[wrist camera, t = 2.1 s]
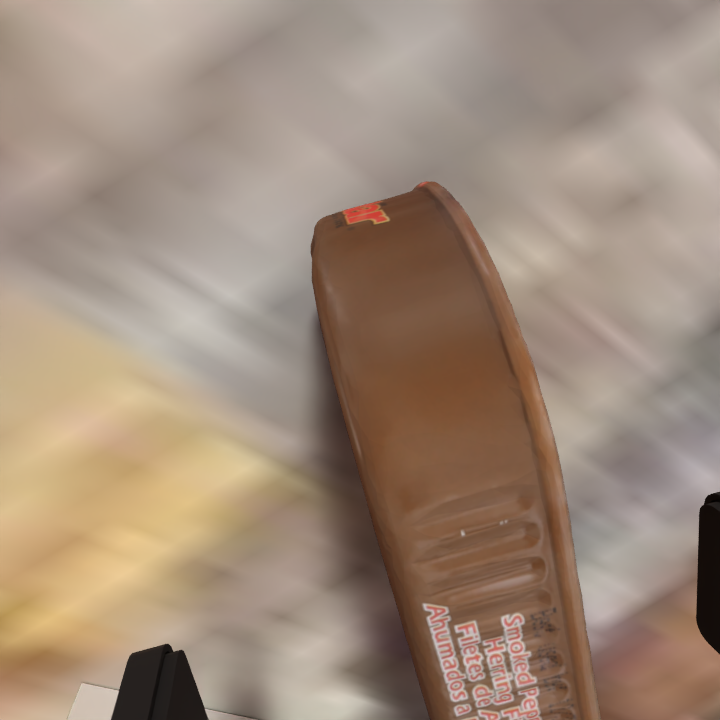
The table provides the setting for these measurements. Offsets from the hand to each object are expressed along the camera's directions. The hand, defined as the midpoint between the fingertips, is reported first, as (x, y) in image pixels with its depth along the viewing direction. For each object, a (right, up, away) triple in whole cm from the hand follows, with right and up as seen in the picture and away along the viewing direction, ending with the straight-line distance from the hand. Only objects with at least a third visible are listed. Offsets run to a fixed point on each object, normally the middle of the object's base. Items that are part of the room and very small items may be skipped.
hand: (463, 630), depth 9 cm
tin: (0, +2, +7) cm, 7 cm away
